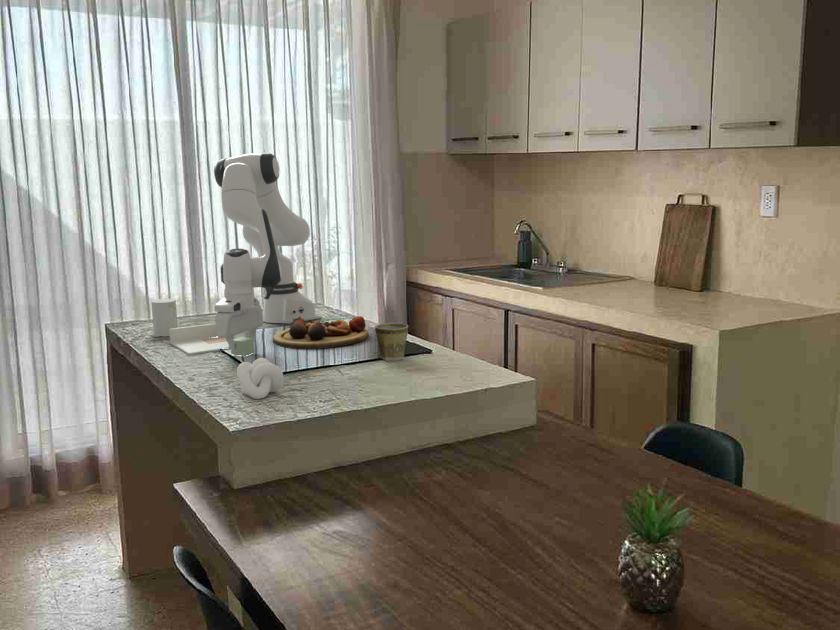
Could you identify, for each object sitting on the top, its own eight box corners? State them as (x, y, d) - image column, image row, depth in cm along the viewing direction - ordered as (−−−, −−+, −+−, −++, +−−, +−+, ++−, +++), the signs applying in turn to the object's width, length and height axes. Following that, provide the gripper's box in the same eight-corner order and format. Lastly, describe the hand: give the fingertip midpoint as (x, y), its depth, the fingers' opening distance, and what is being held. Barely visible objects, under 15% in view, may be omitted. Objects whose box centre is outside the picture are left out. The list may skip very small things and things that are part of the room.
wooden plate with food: (375, 330, 291) (374, 307, 290) (359, 349, 260) (358, 323, 258) (287, 331, 295) (285, 308, 293) (261, 350, 263) (259, 325, 262)
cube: (241, 352, 259) (240, 337, 258) (254, 353, 257) (253, 338, 256) (231, 356, 254) (230, 340, 253) (245, 357, 253) (244, 341, 252)
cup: (174, 336, 284) (171, 302, 282) (150, 337, 284) (147, 302, 282) (181, 331, 292) (178, 298, 290) (158, 332, 292) (155, 298, 290)
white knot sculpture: (287, 388, 217) (286, 355, 216) (281, 401, 205) (279, 366, 204) (244, 389, 217) (242, 356, 215) (236, 402, 205) (234, 367, 203)
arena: (228, 335, 284) (227, 321, 283) (249, 346, 267) (248, 331, 266) (170, 343, 273) (169, 328, 272) (188, 354, 257) (187, 339, 256)
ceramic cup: (404, 363, 242) (404, 329, 240) (372, 361, 244) (371, 328, 242) (414, 352, 254) (413, 321, 252) (382, 352, 256) (381, 320, 254)
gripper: (250, 296, 263) (252, 339, 266) (210, 307, 245) (213, 352, 247) (266, 297, 261) (269, 340, 263) (228, 308, 242) (231, 353, 245)
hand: (241, 346), depth 255 cm, fingers open, 8 cm apart
